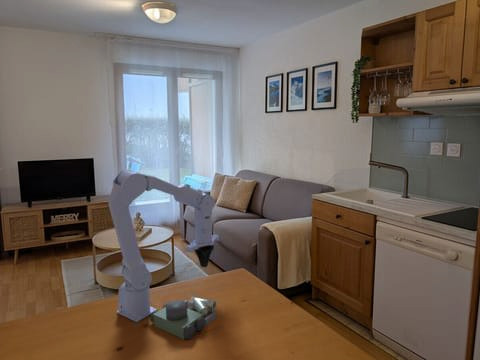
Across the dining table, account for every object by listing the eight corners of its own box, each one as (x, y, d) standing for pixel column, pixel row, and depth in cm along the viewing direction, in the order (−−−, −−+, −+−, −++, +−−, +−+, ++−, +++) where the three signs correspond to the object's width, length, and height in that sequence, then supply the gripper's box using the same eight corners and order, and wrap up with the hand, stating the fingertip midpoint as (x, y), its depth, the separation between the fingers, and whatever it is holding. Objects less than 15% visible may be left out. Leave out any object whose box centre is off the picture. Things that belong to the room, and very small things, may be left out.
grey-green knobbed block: (150, 324, 103) (149, 303, 102) (184, 303, 115) (183, 285, 114) (186, 341, 95) (186, 319, 94) (219, 317, 107) (218, 297, 106)
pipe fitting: (208, 321, 106) (216, 308, 112) (208, 310, 105) (216, 297, 111) (184, 317, 108) (193, 304, 115) (183, 306, 107) (192, 294, 114)
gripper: (198, 235, 111) (198, 276, 113) (225, 224, 123) (225, 261, 125) (181, 231, 115) (182, 271, 117) (209, 221, 127) (210, 257, 129)
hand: (203, 266), depth 122 cm, fingers closed
